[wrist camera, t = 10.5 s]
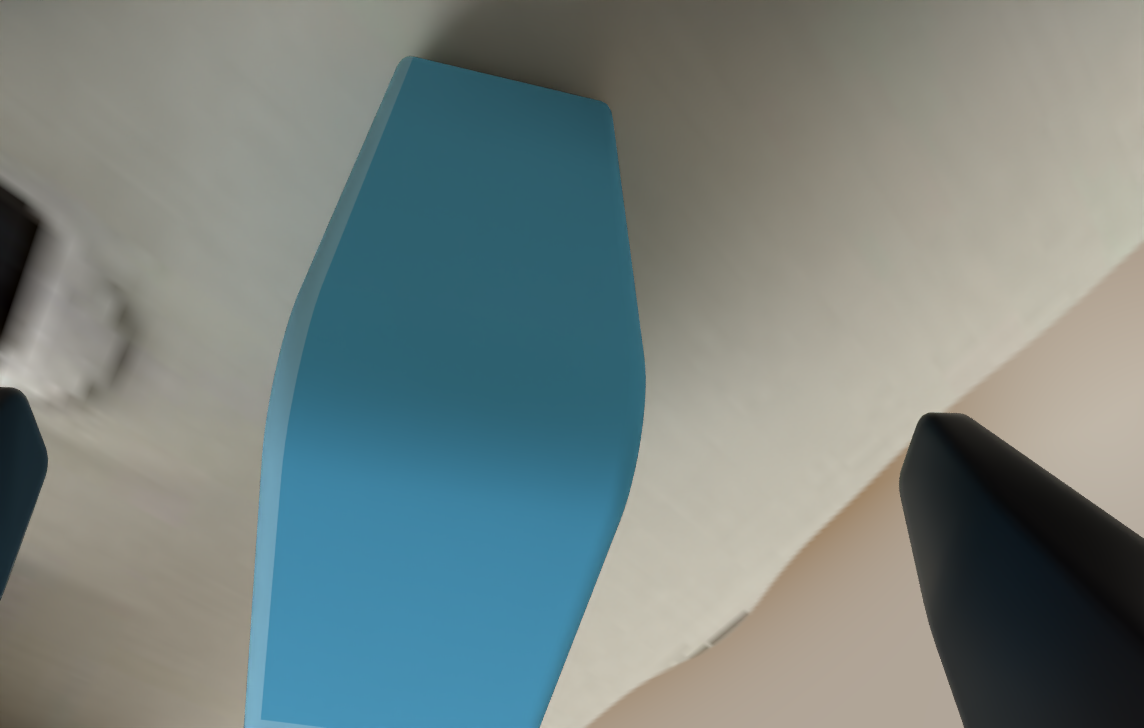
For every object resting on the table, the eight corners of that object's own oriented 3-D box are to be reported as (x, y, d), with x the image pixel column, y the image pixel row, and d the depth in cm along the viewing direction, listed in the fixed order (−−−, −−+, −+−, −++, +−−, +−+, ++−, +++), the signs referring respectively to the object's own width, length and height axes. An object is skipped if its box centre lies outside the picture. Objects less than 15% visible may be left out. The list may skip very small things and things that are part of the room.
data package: (504, 472, 27) (475, 903, 17) (350, 445, 26) (230, 879, 17) (611, 81, 20) (661, 431, 11) (408, 32, 20) (263, 358, 10)
